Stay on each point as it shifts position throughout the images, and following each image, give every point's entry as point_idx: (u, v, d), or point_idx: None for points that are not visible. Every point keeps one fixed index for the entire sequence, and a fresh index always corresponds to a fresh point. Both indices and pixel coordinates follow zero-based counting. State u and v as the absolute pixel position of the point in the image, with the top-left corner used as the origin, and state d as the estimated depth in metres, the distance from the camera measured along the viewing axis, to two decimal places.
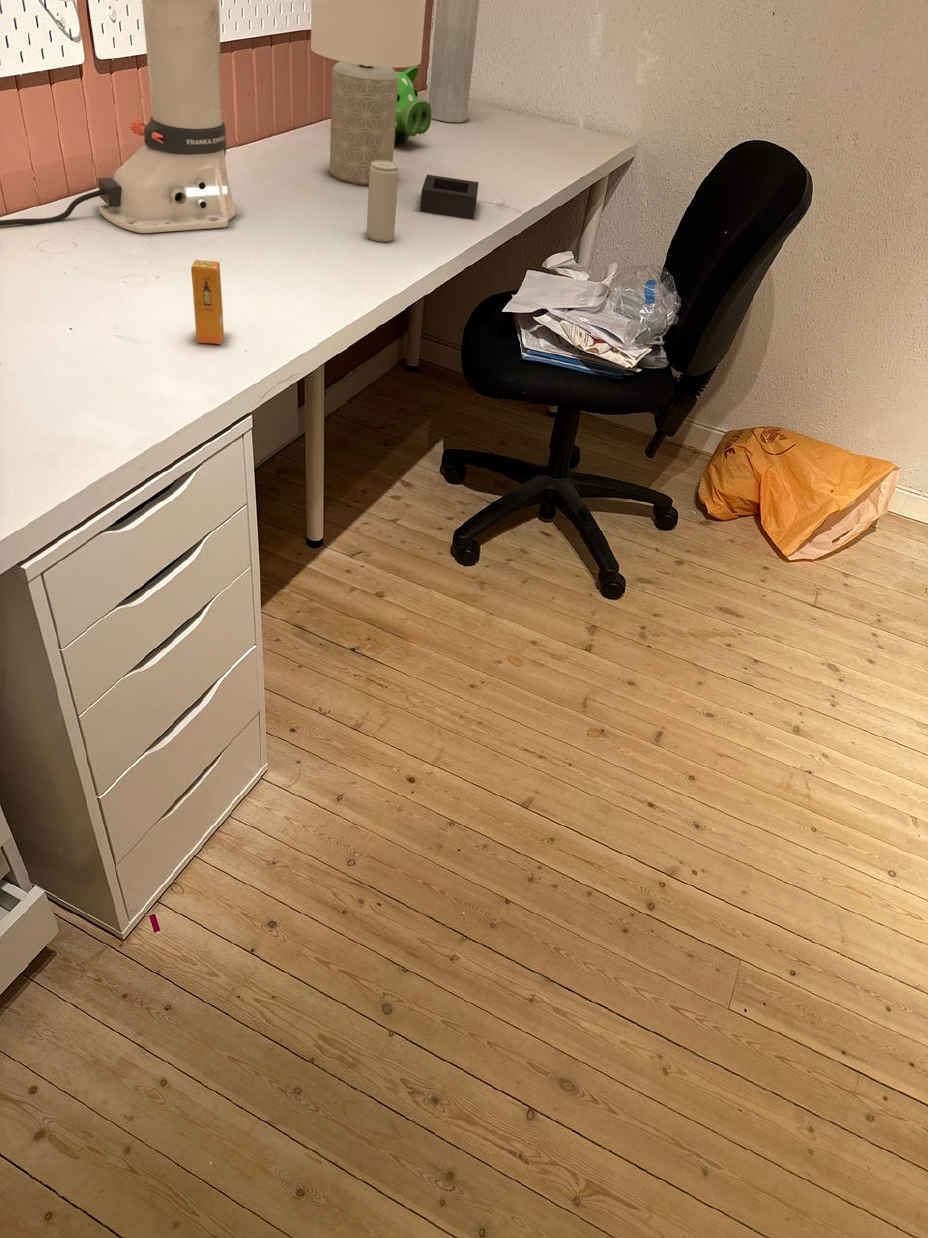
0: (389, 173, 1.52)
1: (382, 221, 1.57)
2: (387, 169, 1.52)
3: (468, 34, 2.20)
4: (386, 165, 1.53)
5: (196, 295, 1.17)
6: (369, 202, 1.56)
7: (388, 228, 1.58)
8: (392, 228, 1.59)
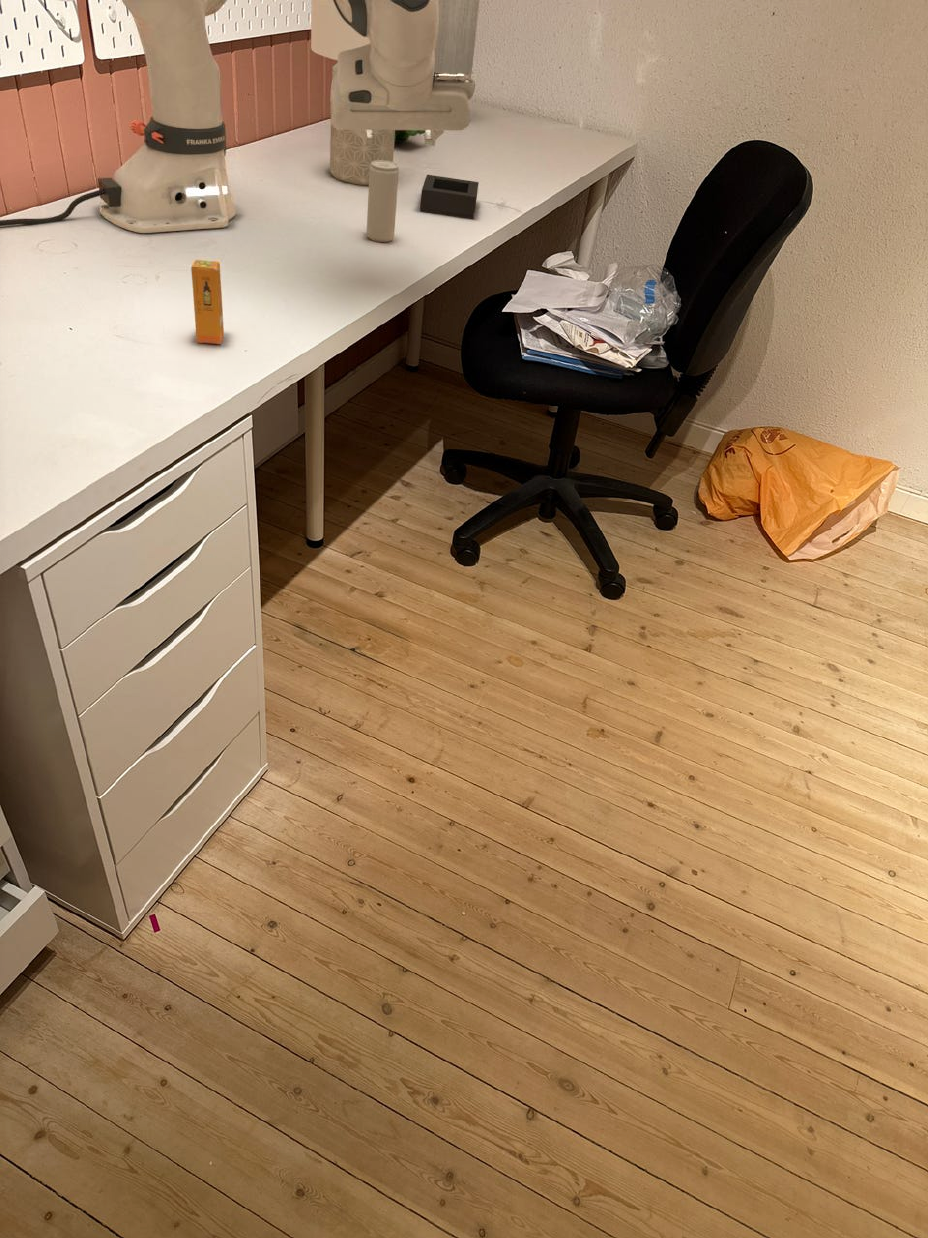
0: (389, 173, 1.52)
1: (382, 221, 1.57)
2: (387, 169, 1.52)
3: (468, 34, 2.20)
4: (386, 165, 1.53)
5: (196, 295, 1.17)
6: (369, 202, 1.56)
7: (388, 228, 1.58)
8: (392, 228, 1.59)
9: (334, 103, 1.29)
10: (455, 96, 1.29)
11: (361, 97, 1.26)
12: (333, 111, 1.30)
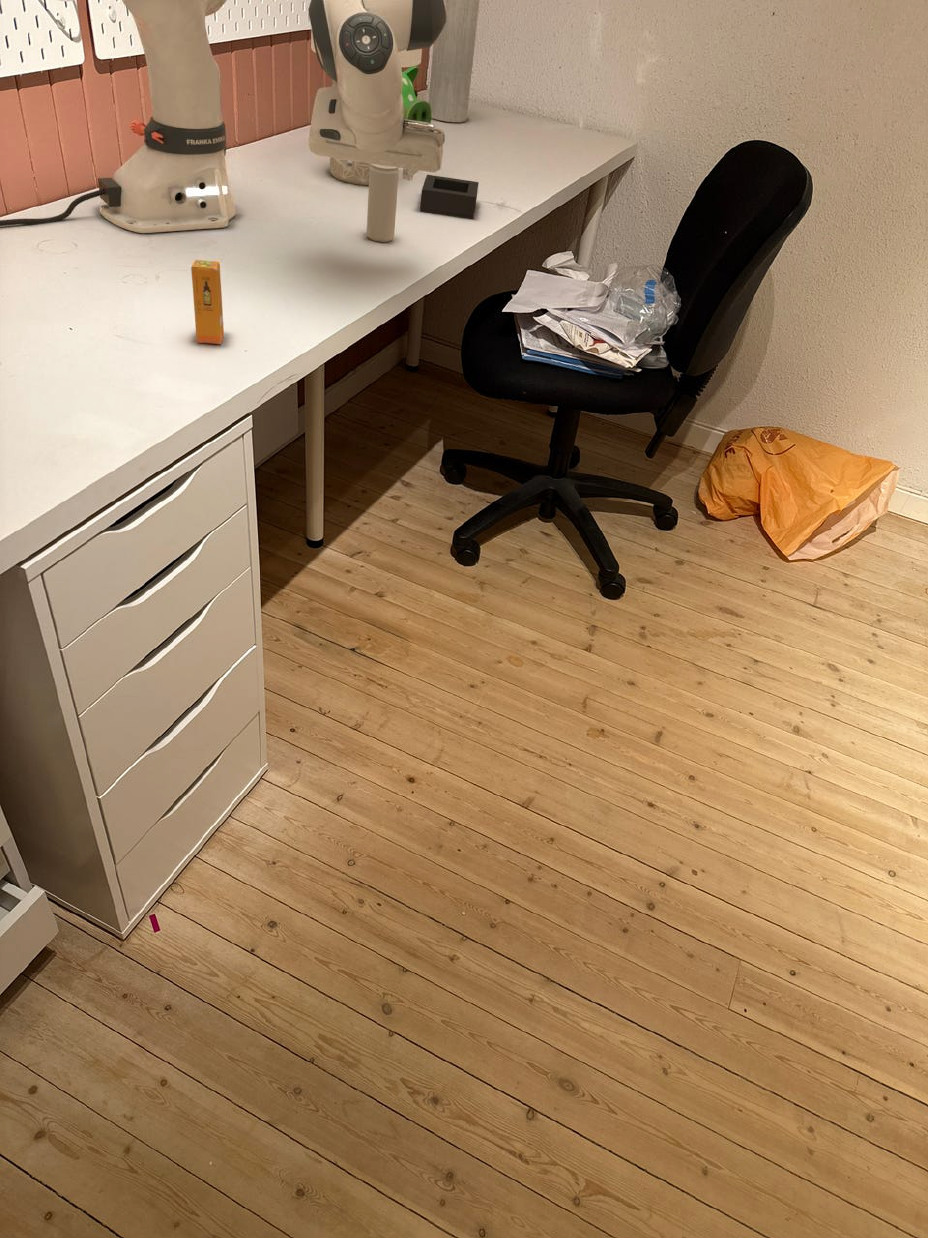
0: (389, 173, 1.52)
1: (382, 221, 1.57)
2: (387, 169, 1.52)
3: (468, 34, 2.20)
4: None
5: (196, 295, 1.17)
6: (369, 202, 1.56)
7: (388, 228, 1.58)
8: (392, 228, 1.59)
9: (309, 134, 1.36)
10: (423, 144, 1.35)
11: (331, 134, 1.33)
12: (309, 140, 1.37)
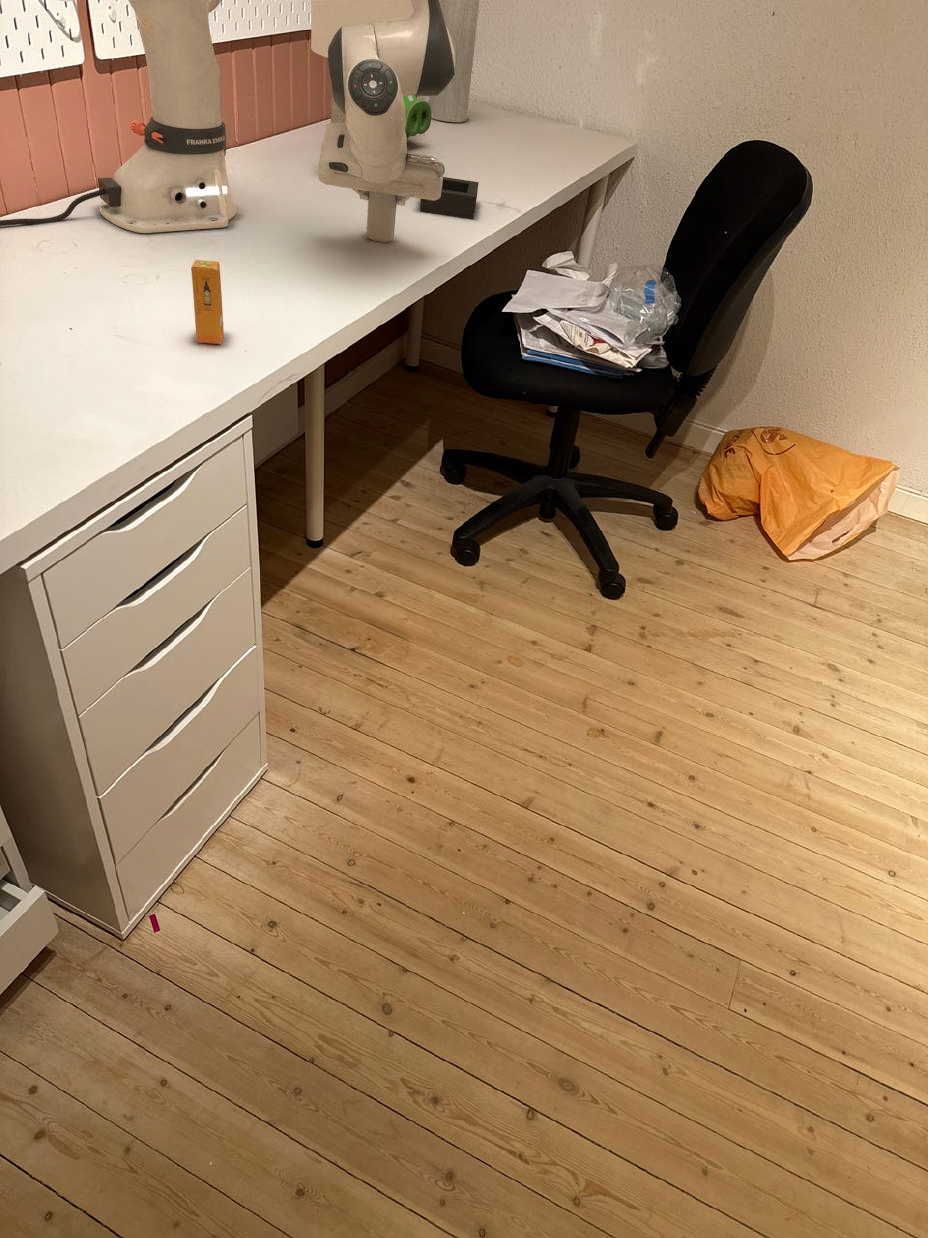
0: None
1: (382, 221, 1.57)
2: None
3: (468, 34, 2.20)
4: None
5: (196, 295, 1.17)
6: (369, 202, 1.56)
7: (388, 228, 1.58)
8: (392, 228, 1.59)
9: (319, 166, 1.46)
10: (424, 175, 1.45)
11: (339, 167, 1.43)
12: (318, 171, 1.48)
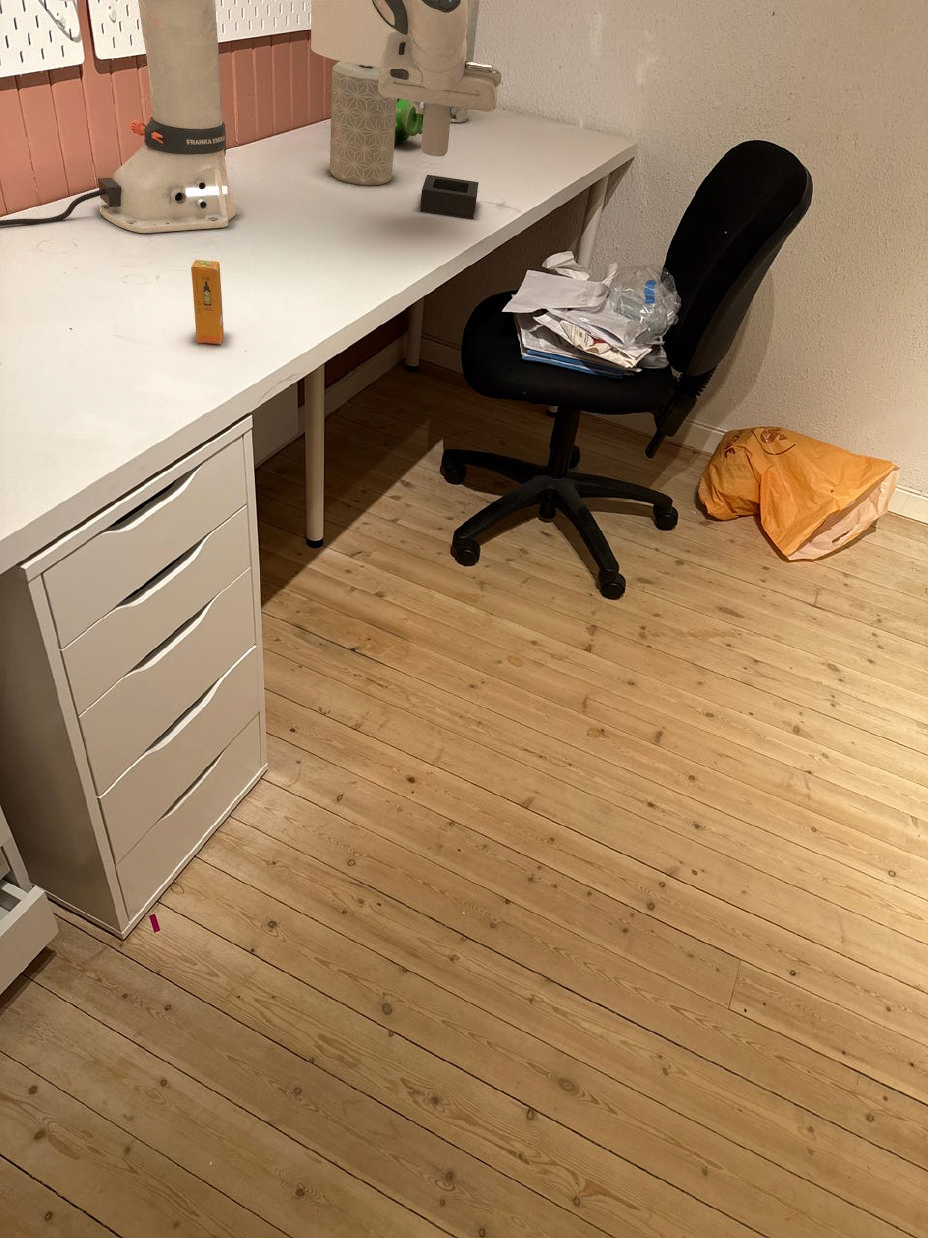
0: None
1: (437, 134, 1.61)
2: None
3: (468, 34, 2.20)
4: None
5: (196, 295, 1.17)
6: (425, 115, 1.61)
7: (443, 142, 1.63)
8: (446, 142, 1.63)
9: (379, 75, 1.51)
10: (482, 83, 1.50)
11: (400, 74, 1.48)
12: (378, 81, 1.52)
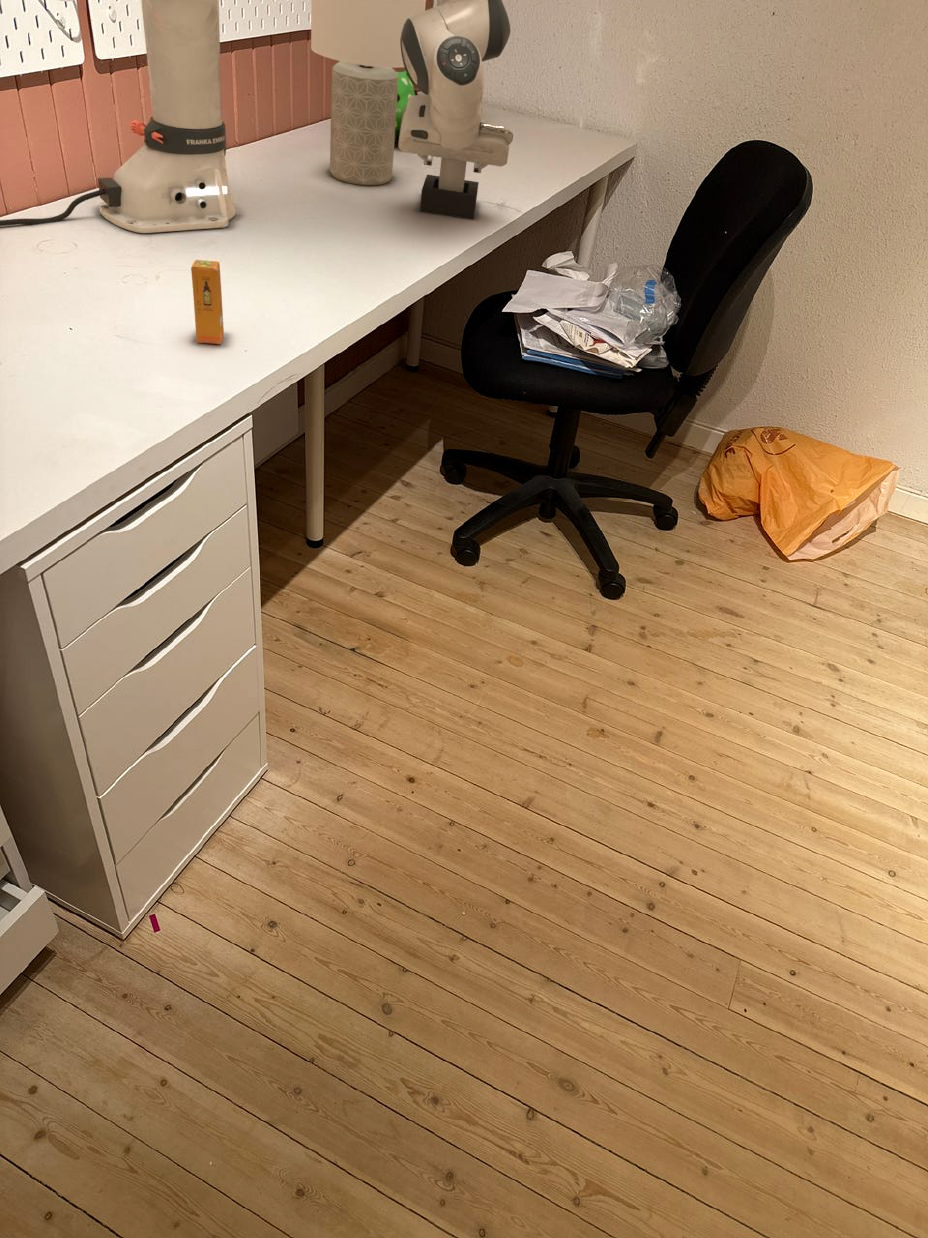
0: None
1: (453, 188, 1.74)
2: None
3: None
4: None
5: (196, 295, 1.17)
6: (441, 171, 1.73)
7: None
8: None
9: (400, 134, 1.64)
10: (495, 142, 1.63)
11: (420, 134, 1.61)
12: (399, 139, 1.65)
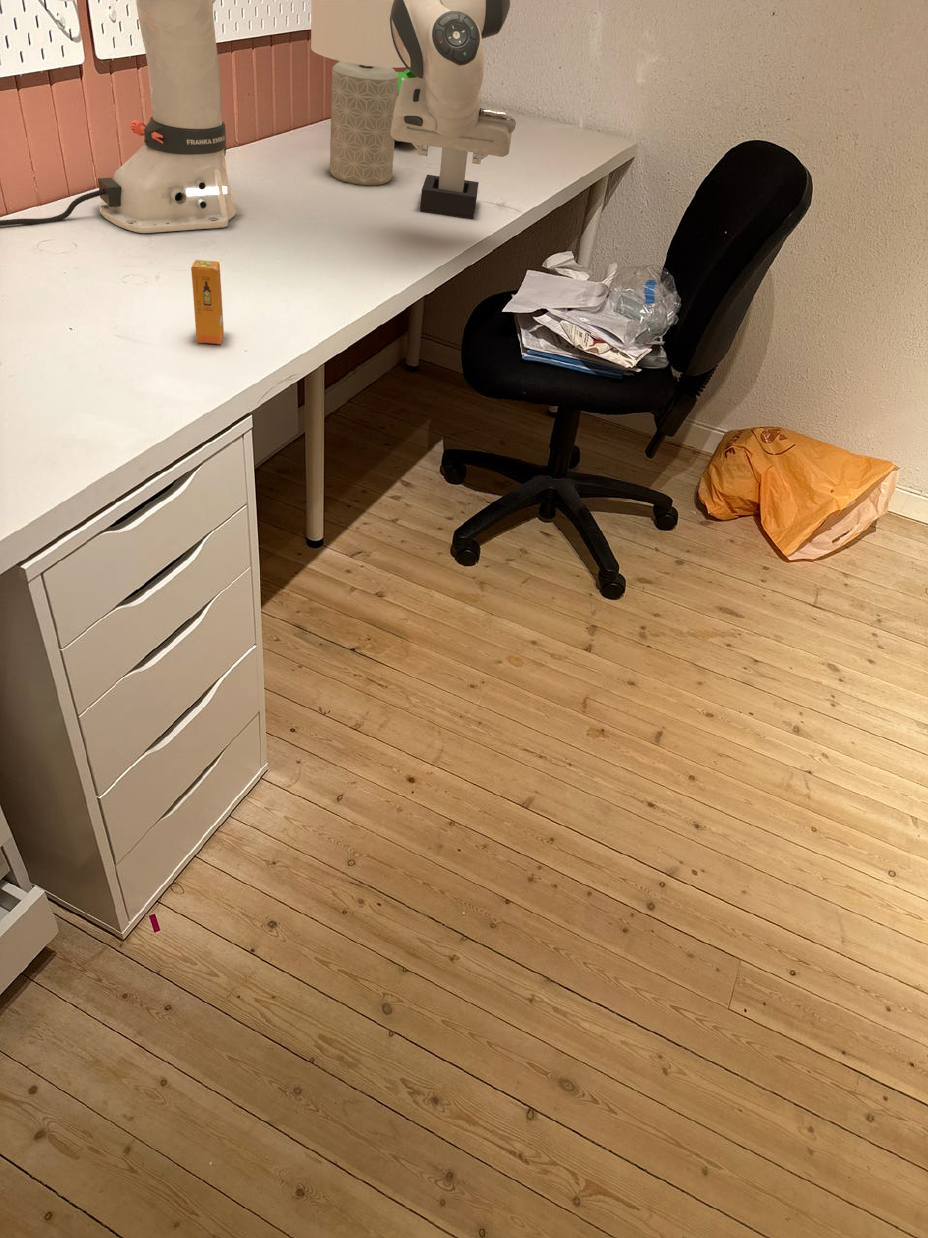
0: None
1: (453, 188, 1.74)
2: None
3: None
4: None
5: (196, 295, 1.17)
6: (441, 171, 1.73)
7: None
8: None
9: (393, 120, 1.50)
10: (496, 130, 1.49)
11: (414, 121, 1.47)
12: (392, 126, 1.51)
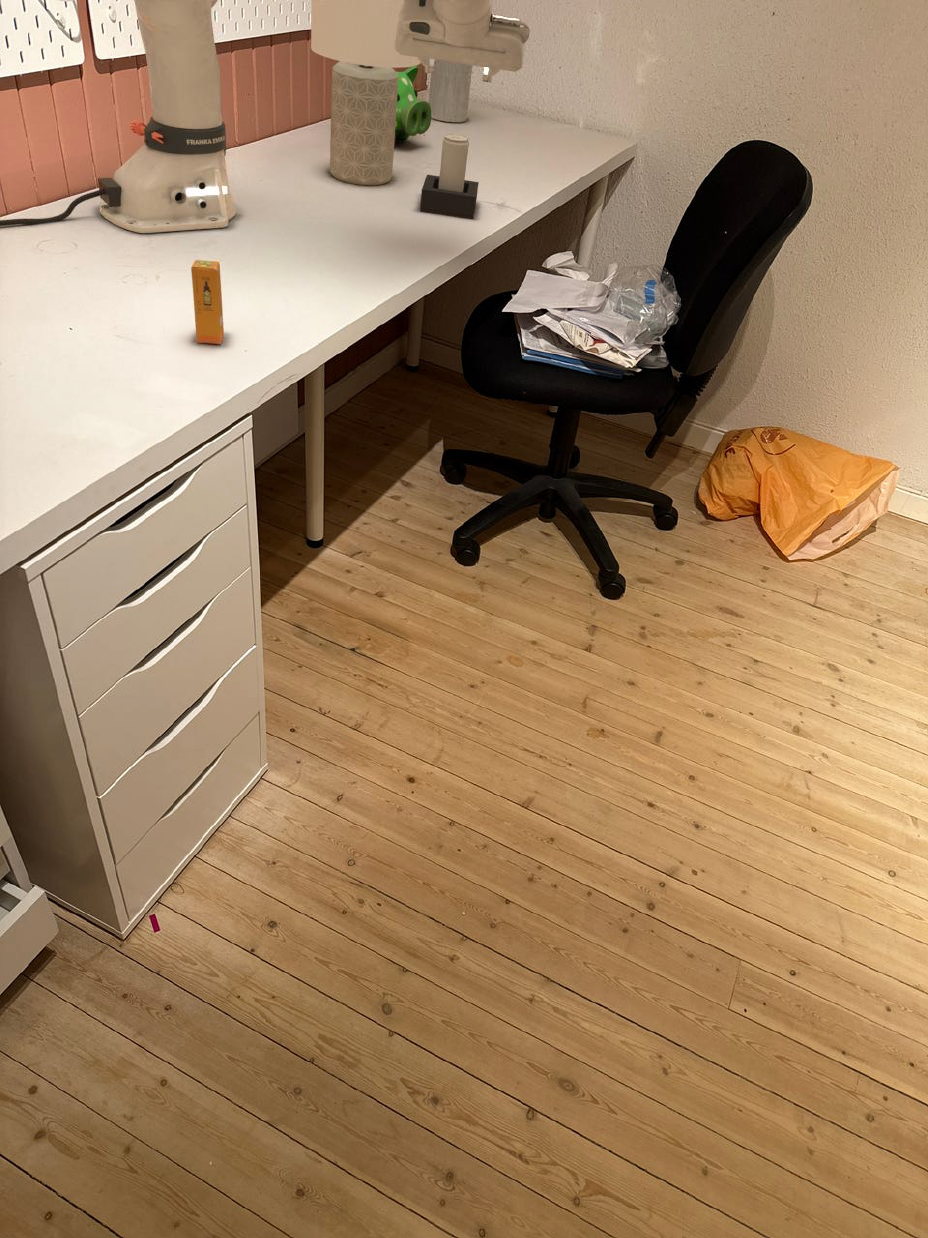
0: (461, 145, 1.70)
1: (453, 188, 1.74)
2: (459, 141, 1.69)
3: None
4: (458, 137, 1.71)
5: (196, 295, 1.17)
6: (441, 171, 1.73)
7: None
8: None
9: (397, 30, 1.40)
10: (508, 39, 1.39)
11: (421, 28, 1.37)
12: (396, 37, 1.41)
